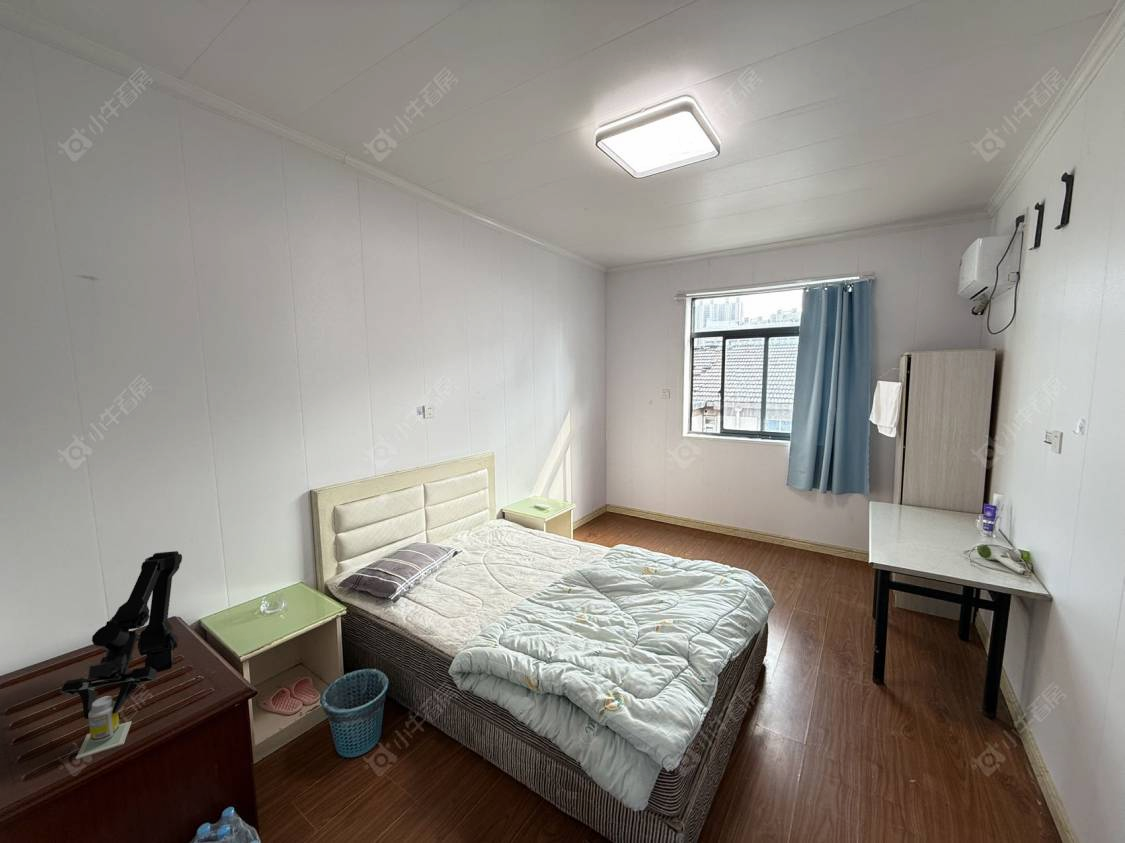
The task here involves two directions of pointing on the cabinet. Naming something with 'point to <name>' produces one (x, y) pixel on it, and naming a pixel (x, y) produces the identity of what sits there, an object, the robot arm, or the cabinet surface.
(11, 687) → the cabinet surface
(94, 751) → the card
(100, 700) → the supplement bottle
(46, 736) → the cabinet surface
